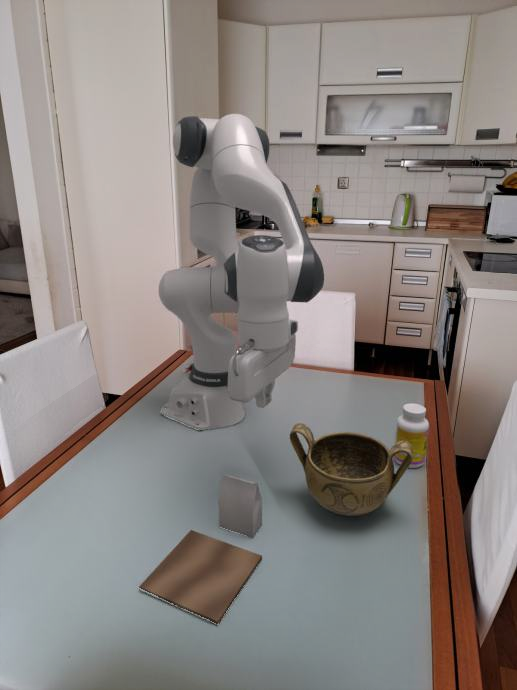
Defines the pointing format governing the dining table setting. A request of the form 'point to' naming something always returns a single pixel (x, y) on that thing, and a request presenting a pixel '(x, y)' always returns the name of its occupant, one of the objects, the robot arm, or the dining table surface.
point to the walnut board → (202, 575)
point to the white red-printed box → (240, 506)
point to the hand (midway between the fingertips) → (263, 404)
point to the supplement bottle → (413, 433)
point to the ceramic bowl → (349, 469)
